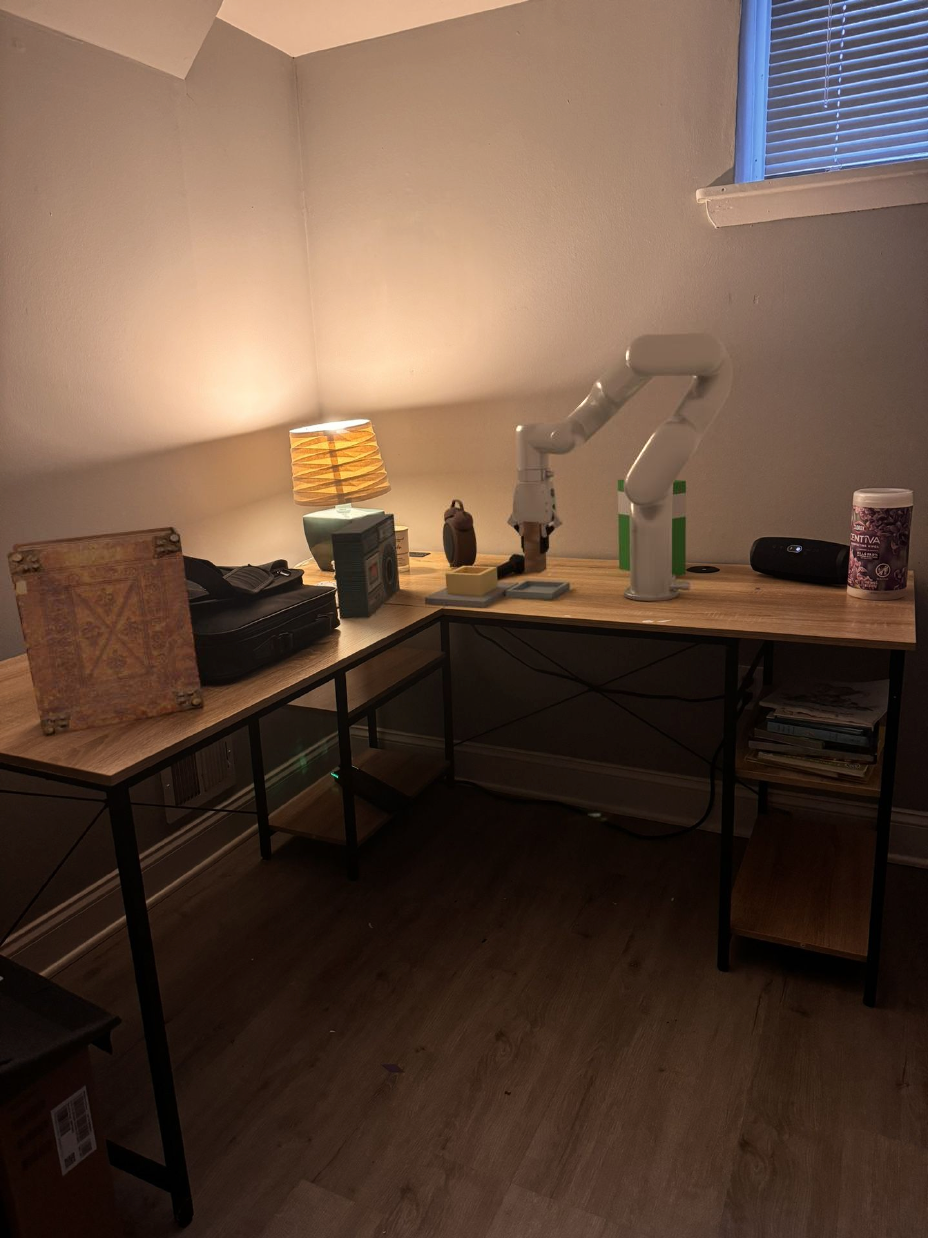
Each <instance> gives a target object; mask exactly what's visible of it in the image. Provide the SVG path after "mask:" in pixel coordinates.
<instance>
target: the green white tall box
mask: <svg viewBox="0 0 928 1238" xmlns="http://www.w3.org/2000/svg"><path fill="white" fill-rule="evenodd" d="M617 505H618V507H617V508H618V509H617V511H618V513H617V515H618V520H617V521H618V567H619V568H618V569H619V570H624V571H627V572H630V500H629V499H628V498H627V496H626V494H625V492H624V479H617ZM686 511H687V481H686V480H681V479H680V480H679V479H676V480H675V481H674V483H673V498H672V575H675V577H679V576H685V575H686V572H687V571H686V567H687V566H686V560H687V559H686V558H687V557H686V556H687V555H686V554H687V553H686V548H687V547H686V545H687V544H686V543H687V542H686V541H687V539H686V537H687V536H686V534H687V529H686V526H687V525H686V523H687V521H686V519H687V512H686Z"/></svg>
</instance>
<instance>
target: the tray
mask: <svg viewBox="0 0 928 1238" xmlns="http://www.w3.org/2000/svg"><path fill="white" fill-rule="evenodd" d="M570 583H571V582H569V581H553V580H535V579H534V580H533V579H532V580H530V579H525V580H522V581H521V582H518V584H517V585H515V586H513V587H511V588H510V589H508V590H506V596H505V598H506V599H517V600H518V599H521V600H533V601H535V600H539V601H551V602H552V601H554V600H556V599H557V598H559V597H560V596H562V595H563V594H564V593H566V592H567V591H570V589H571V584H570Z"/></svg>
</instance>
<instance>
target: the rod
mask: <svg viewBox="0 0 928 1238" xmlns="http://www.w3.org/2000/svg"><path fill="white" fill-rule="evenodd" d="M523 526H524V553H523V554H524V555H523V556H524V557H525V571H524V573H533V574H534V573H537V574H539V573H540V574H541V573H543V572H544V571H546V570H547V552H546V553H544V554H541V548H540V538H541V537H542V532H541V527H540V524H539V522H526V521H523Z"/></svg>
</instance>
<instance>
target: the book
mask: <svg viewBox="0 0 928 1238" xmlns="http://www.w3.org/2000/svg"><path fill="white" fill-rule="evenodd" d="M183 555H184V554H183V546H182V541H181V534H180V533H179V531H178V530H177V529H176V527H174V526H168V527H159V528H157V527H156V528H150V529H139V530H132V531H122V532H120V531H119V532H113V533H103V534H94V535H93V534H92V535H86V536H85V535H83V536H75V537H74V536H73V537H66V538H57V539H47V540H39V541H38V540H37V541H29V542H19V543H15V544H13V546H12V551H8V553H7V561H8V567H9V572H10V575H11V576H10V577H11V580H12V581H11V582H12V587H13V592H14V597H15V601H16V606H17V611H18V616H19V621H20V625H21V630H22V636H23V641H24V646H25V651H26V656H27V660H28V665H29V670H30V671H29V672H30V675H31V680H32V686H33V691H34V695H35V699H36V705H37V711H38V714H39V721H40V725H41V730H42V735H43V736H44V737H50V736H51V737H52V736H56V735H63V734H68V733H72V732H78V731H82V730H83V731H84V730H89V729H94V728H100V727H105V726H111V725H114V724H120V723H126V722H131V721H138V720H142V719H147V718H151V717H159V716H165V715H169V714H174V713H179V712H184V711H190V710H196V709H201V708H204V707H205V702H204V696H203V695H204V694H203V688H202V687H203V686H202V681H201V680H202V679H201V675H200V666H199V660H198V652H197V645H196V639H195V638H196V637H195V633H194V632H195V631H194V625H193V616H192V610H191V605H190V597H189V591H188V590H189V589H188V582H187V577H186V576H187V575H186V569H185V562H184V556H183Z"/></svg>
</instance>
